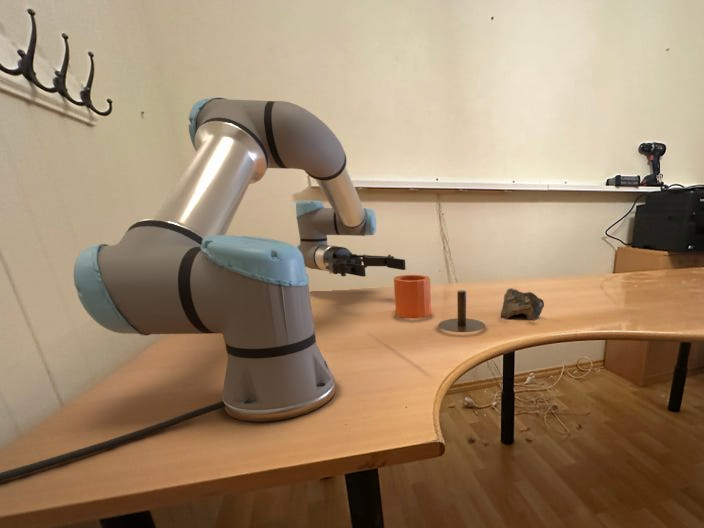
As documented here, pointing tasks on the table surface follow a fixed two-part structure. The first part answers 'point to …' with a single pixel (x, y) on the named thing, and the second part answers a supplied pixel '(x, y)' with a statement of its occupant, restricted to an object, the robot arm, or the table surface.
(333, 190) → the robot arm
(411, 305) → the orange cylinder
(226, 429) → the table surface
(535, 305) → the fossil
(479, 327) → the ring stand
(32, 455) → the table surface
